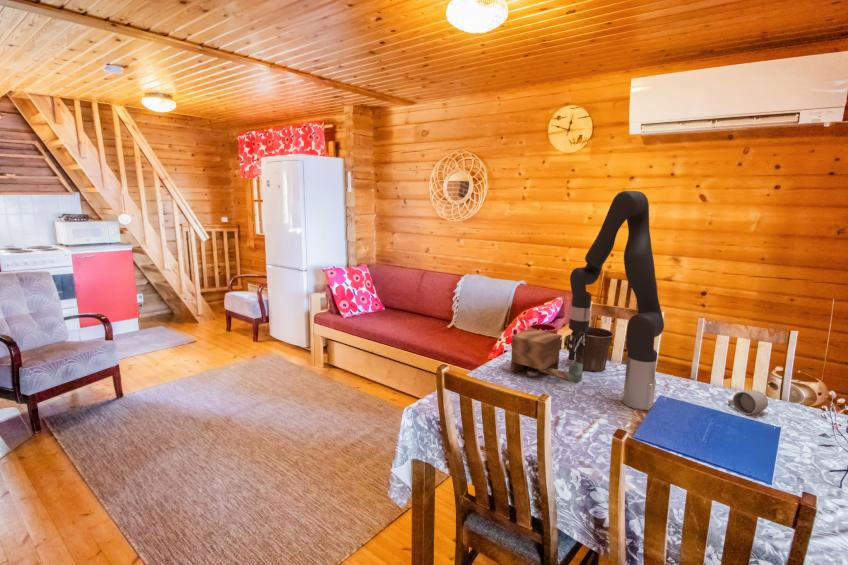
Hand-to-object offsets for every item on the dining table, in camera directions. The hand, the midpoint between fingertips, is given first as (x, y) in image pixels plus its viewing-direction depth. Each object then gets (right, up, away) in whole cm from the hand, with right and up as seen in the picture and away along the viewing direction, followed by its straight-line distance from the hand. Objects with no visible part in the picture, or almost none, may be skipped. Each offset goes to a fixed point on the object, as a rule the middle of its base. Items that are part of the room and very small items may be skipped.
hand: (575, 357), depth 177 cm
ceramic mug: (+51, -15, -22) cm, 58 cm away
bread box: (-14, -8, +9) cm, 19 cm away
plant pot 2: (-4, -3, +38) cm, 39 cm away
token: (-16, -9, +6) cm, 19 cm away
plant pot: (+12, -7, +17) cm, 22 cm away
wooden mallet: (-7, -8, +7) cm, 13 cm away
